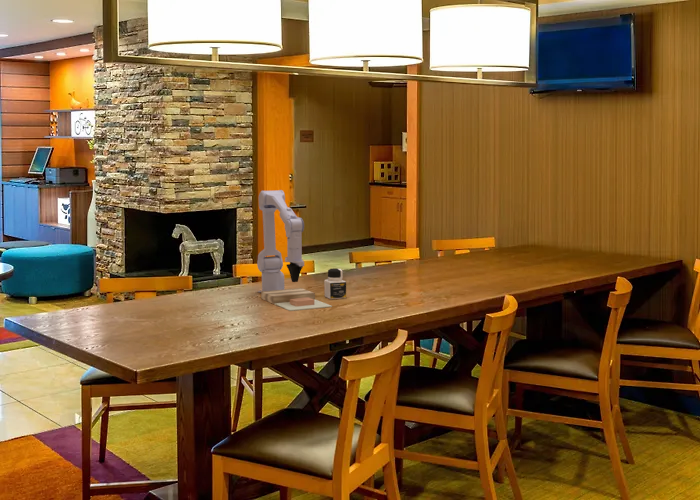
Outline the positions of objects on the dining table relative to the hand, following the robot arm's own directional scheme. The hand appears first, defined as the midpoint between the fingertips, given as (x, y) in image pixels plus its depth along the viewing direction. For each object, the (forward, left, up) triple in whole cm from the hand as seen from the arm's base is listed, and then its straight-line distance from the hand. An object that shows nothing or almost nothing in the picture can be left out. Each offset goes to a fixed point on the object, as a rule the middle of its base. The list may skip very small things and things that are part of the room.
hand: (294, 281), depth 364 cm
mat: (+3, +7, -8) cm, 11 cm away
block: (+3, +7, -6) cm, 9 cm away
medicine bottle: (-19, +4, -9) cm, 21 cm away
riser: (-2, -7, -8) cm, 11 cm away
